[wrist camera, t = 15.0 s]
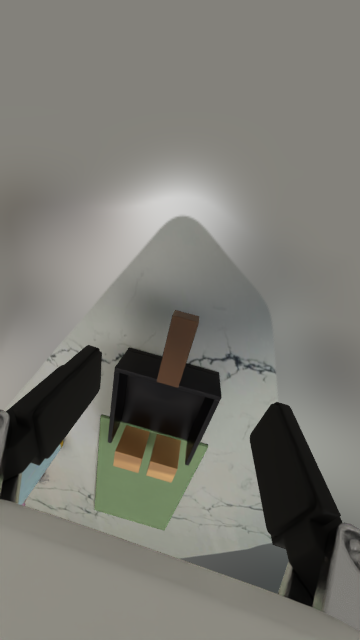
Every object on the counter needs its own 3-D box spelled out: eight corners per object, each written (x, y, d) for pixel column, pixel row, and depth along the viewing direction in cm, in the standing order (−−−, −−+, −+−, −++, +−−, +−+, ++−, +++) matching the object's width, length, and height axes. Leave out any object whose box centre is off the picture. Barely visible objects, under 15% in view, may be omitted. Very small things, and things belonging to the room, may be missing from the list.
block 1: (115, 451, 25) (112, 466, 27) (142, 458, 25) (138, 473, 27) (126, 424, 29) (123, 439, 31) (150, 431, 29) (146, 445, 30)
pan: (136, 288, 20) (119, 300, 16) (243, 317, 19) (252, 337, 15) (119, 417, 29) (105, 445, 25) (190, 437, 29) (188, 469, 25)
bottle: (28, 436, 35) (-85, 561, 21) (32, 416, 32) (-96, 546, 18) (62, 450, 35) (-27, 581, 22) (68, 431, 32) (-30, 569, 19)
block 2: (150, 461, 25) (146, 475, 27) (177, 469, 25) (171, 483, 27) (157, 433, 29) (153, 447, 30) (181, 440, 29) (175, 454, 30)
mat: (101, 414, 29) (100, 416, 29) (207, 444, 29) (207, 447, 29) (95, 507, 45) (94, 509, 44) (164, 528, 44) (164, 530, 44)
